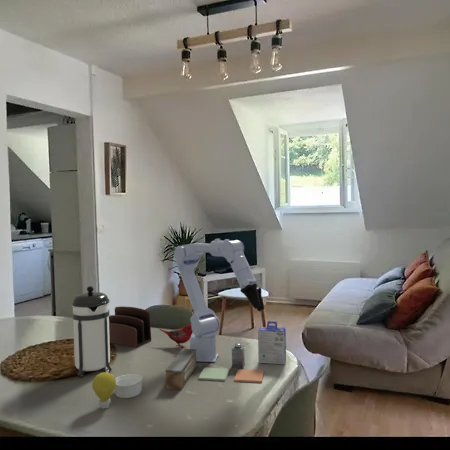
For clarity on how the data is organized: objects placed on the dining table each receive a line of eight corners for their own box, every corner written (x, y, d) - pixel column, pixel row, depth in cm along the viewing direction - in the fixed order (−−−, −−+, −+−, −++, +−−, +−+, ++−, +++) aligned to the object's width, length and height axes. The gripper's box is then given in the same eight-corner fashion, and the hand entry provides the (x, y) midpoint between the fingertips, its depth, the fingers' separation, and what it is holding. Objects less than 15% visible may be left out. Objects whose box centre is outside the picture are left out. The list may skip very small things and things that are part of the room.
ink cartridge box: (286, 359, 160) (286, 321, 159) (285, 365, 154) (285, 325, 154) (260, 358, 162) (259, 320, 161) (258, 363, 156) (257, 324, 155)
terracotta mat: (234, 381, 141) (234, 379, 141) (238, 370, 149) (238, 369, 149) (261, 382, 139) (261, 381, 139) (263, 372, 148) (263, 370, 148)
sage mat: (198, 379, 143) (198, 377, 143) (204, 369, 152) (204, 367, 151) (225, 380, 141) (225, 379, 141) (229, 370, 150) (229, 368, 150)
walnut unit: (165, 389, 136) (164, 370, 135) (182, 365, 156) (181, 348, 155) (182, 390, 135) (181, 371, 134) (197, 366, 155) (196, 349, 154)
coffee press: (124, 364, 158) (122, 283, 156) (94, 380, 143) (91, 291, 142) (88, 358, 165) (85, 280, 163) (56, 373, 150) (52, 288, 149)
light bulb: (95, 402, 127) (94, 369, 127) (118, 401, 128) (117, 368, 127) (90, 413, 121) (89, 378, 120) (114, 411, 121) (113, 377, 121)
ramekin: (117, 401, 128) (116, 387, 127) (110, 390, 136) (110, 377, 135) (146, 395, 132) (145, 381, 132) (138, 384, 140) (137, 371, 139)
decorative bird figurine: (193, 350, 171) (192, 326, 170) (157, 344, 180) (157, 320, 179) (196, 348, 173) (196, 324, 173) (161, 342, 182) (161, 319, 182)
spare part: (232, 367, 152) (231, 345, 152) (233, 363, 156) (233, 342, 156) (243, 368, 152) (242, 346, 151) (244, 364, 156) (244, 342, 155)
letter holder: (116, 335, 194) (115, 304, 193) (151, 341, 185) (151, 308, 184) (100, 341, 185) (99, 309, 184) (136, 348, 176) (135, 314, 175)
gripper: (249, 262, 138) (267, 300, 133) (257, 271, 152) (273, 306, 147) (230, 271, 139) (247, 310, 134) (239, 279, 152) (255, 315, 147)
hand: (259, 308), depth 141 cm, fingers open, 7 cm apart
